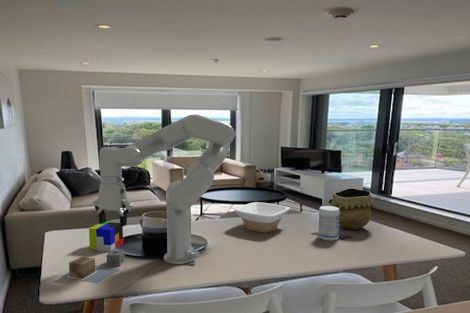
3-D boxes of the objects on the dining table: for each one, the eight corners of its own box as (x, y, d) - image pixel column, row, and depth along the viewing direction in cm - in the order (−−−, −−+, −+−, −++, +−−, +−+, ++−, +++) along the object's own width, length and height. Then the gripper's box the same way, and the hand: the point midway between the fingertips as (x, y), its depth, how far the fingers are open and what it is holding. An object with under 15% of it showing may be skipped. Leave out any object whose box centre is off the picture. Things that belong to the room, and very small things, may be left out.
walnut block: (95, 271, 126) (94, 258, 125) (83, 278, 120) (82, 265, 120) (82, 269, 128) (81, 256, 127) (69, 276, 122) (68, 262, 122)
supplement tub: (340, 241, 161) (341, 210, 159) (320, 241, 161) (321, 210, 160) (336, 234, 170) (337, 205, 169) (316, 234, 171) (317, 205, 170)
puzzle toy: (111, 252, 146) (110, 229, 145) (89, 251, 148) (89, 228, 147) (123, 244, 156) (122, 223, 155) (103, 243, 158) (102, 221, 157)
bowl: (230, 230, 178) (230, 209, 177) (255, 219, 198) (255, 201, 197) (270, 239, 164) (271, 217, 163) (293, 226, 184) (293, 206, 183)
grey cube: (124, 262, 136) (124, 250, 136) (119, 268, 131) (119, 255, 131) (112, 262, 136) (111, 250, 136) (106, 267, 131) (106, 255, 131)
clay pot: (353, 237, 167) (354, 196, 165) (321, 225, 186) (323, 189, 184) (381, 230, 177) (383, 192, 175) (349, 220, 196) (350, 185, 194)
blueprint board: (120, 270, 128) (120, 269, 128) (97, 285, 117) (97, 283, 117) (85, 264, 134) (85, 263, 134) (60, 277, 122) (60, 276, 122)
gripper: (136, 179, 130) (138, 224, 132) (100, 177, 136) (101, 219, 138) (124, 183, 123) (125, 229, 125) (85, 180, 129) (87, 224, 131)
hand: (112, 224), depth 131 cm, fingers open, 9 cm apart
